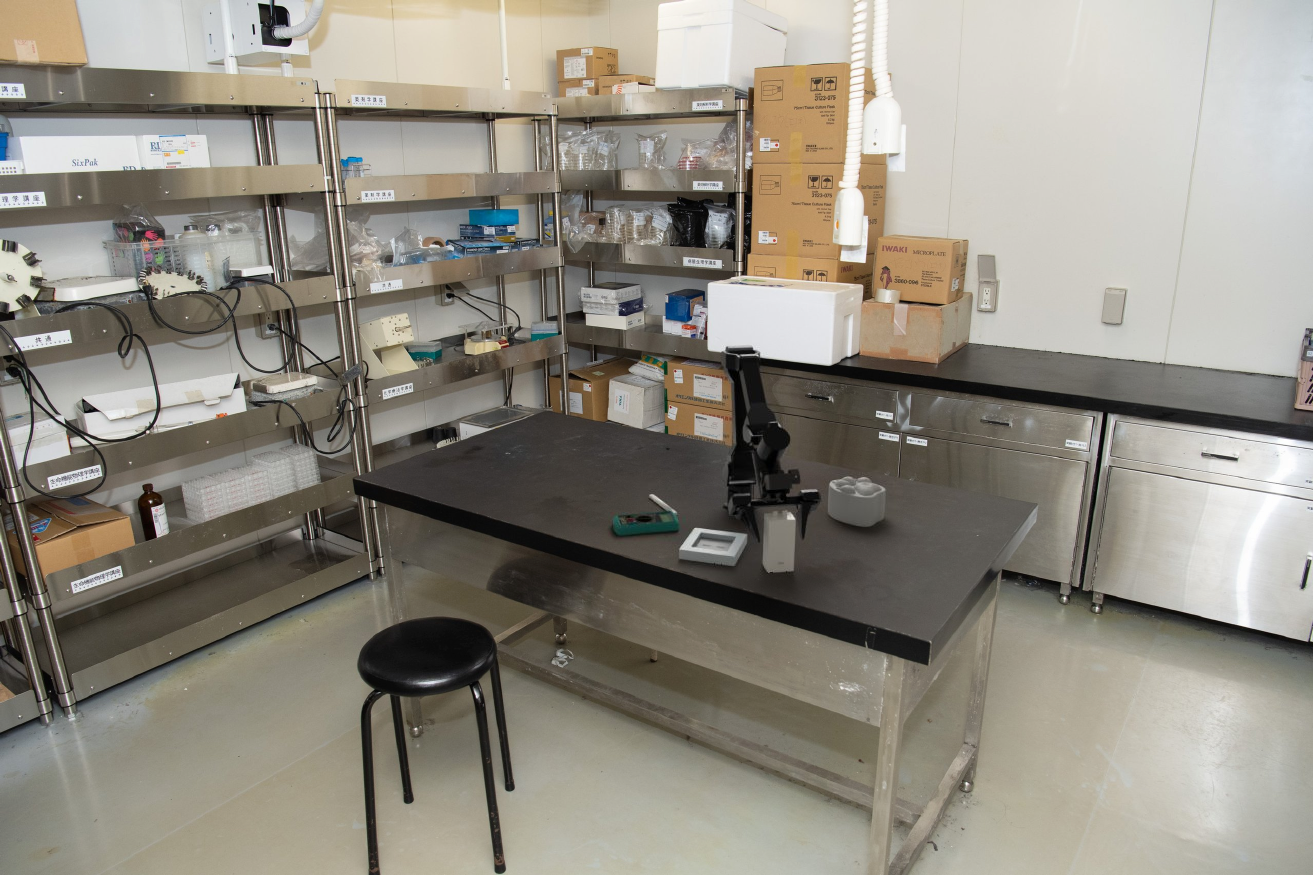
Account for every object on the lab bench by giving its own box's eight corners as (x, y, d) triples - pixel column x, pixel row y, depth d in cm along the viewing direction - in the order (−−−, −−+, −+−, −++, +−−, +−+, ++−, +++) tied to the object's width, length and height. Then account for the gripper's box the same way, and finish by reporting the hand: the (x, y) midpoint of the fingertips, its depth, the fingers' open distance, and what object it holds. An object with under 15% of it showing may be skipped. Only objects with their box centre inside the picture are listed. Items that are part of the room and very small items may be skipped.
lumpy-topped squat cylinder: (865, 529, 198) (868, 493, 195) (817, 514, 207) (819, 480, 204) (888, 516, 205) (891, 482, 203) (841, 502, 214) (843, 469, 211)
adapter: (762, 564, 181) (764, 507, 177) (788, 562, 182) (790, 506, 178) (767, 572, 177) (769, 515, 173) (793, 571, 178) (796, 513, 174)
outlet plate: (694, 536, 195) (694, 527, 194) (747, 543, 191) (747, 534, 190) (679, 558, 184) (679, 549, 183) (734, 566, 180) (734, 556, 179)
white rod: (649, 498, 218) (648, 493, 218) (653, 497, 218) (653, 493, 218) (672, 516, 206) (672, 512, 206) (677, 515, 207) (677, 511, 206)
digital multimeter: (611, 525, 202) (611, 513, 202) (673, 520, 205) (673, 508, 204) (615, 538, 196) (615, 526, 195) (680, 532, 198) (680, 520, 197)
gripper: (731, 457, 175) (743, 529, 168) (821, 452, 177) (835, 523, 170) (723, 480, 185) (733, 549, 178) (807, 475, 187) (821, 543, 180)
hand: (780, 541), depth 176 cm, fingers open, 9 cm apart
